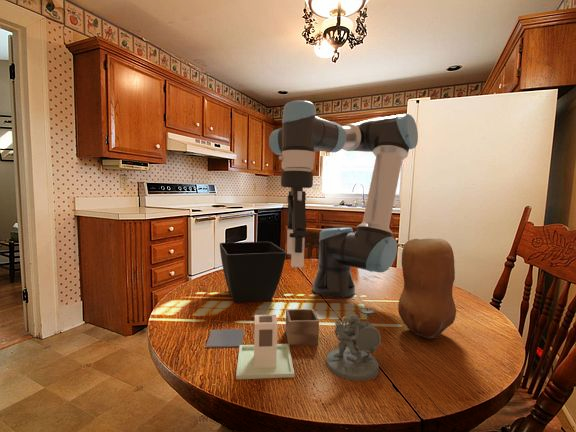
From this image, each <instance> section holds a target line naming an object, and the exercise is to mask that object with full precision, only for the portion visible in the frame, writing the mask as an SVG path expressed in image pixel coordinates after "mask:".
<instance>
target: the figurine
mask: <svg viewBox="0 0 576 432" xmlns="http://www.w3.org/2000/svg"><path fill="white" fill-rule="evenodd" d="M360 314H363V315H366V321H361V319H360V317H359V316H358V315H357V314H356V313H355V314H354V313H353V314H351V315H349V317H348V318H347V316H342V319H341V321H338V320H337V321H335V323H334V325H335V326H336V327H335V329H334V331H333V333H334V334H335V336H336V338H337V340H338V341H339V343H338V345H337V348H335V349H332V350H331V351H329V352H328V353H327V354H326V358H325V363H326V366H327V369H329V371H331V373H333V375H336V376H337V377H340V378H342V379H345V380H347V381H348V380H349V381H355V382H356V381H358V382H362V381H369V380H370V381H372V380H374V379H375V378H377V377H378V374H379V372H380V369H379V367H380V364H379V362H378V360H377V358H375V357H374V355H373V353H374V352H375V351H377V349H378V348H379V347H380V345H381V342H382V336H381V334H380V331H379V330H378V329H377V328H376V327H374V325H372V324H371V322H369V316H373V315H375V310H373V309H370V308H369V307H366V308H363V309H360Z"/></svg>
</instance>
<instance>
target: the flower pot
mask: <svg viewBox="0 0 576 432" xmlns="http://www.w3.org/2000/svg"><path fill="white" fill-rule="evenodd" d="M219 251H220V259H221V264H222V270H223V274H224V278H225V282H226V286H227V289H228V292H229V294H230V296H231V299H232V302H233V303H236V304H238V303H239V304H241V303H248V302H249V303H251V302H260V301H261V302H262V301H270V300H272V299H273V298H274V295H275V293H276V291H277V288H278V285H279V283H280V279H281V277H282V273H283V269H284V264H285V261H286V255H287V251H285V250H284V249H282V248H281V247H279V246H278V245H276V244H274V243H273V242H272V241H243V242H241V241H238V242H220V243H219Z"/></svg>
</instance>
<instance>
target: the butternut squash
mask: <svg viewBox="0 0 576 432" xmlns="http://www.w3.org/2000/svg"><path fill="white" fill-rule="evenodd" d="M455 267H456V266H455V256H454V251H453V248H452V246H451V244H450V243H449V242H448V241H447V240H445V239H443V238H424V239H423V238H422V239H421V238H420V239H419V238H413V239H410V240H408V241H407V242H405V243H404V245H403V247H402V252H401V269H402V276H403V288H402V292H401V294H400V297H399V299H398V306H397V309H398V314H399V317H400V319H401V321H402V322H403V324H404V325H405V326H406V328H407V329H408V330H410V331H411V332H412V333H414V334H416V336H421V337H423V338H426V339H437V338H438V337H439V336H440V335H441V334H443V332H444V331H446V330H447V328H449V327H450V326H451V325H452V324H454V322H455V320H456V315H457V307H456V304H455V301H454V297H453V288H454V287H453V286H454V283H455V279H456V274H455V273H456V272H455V271H456V270H455Z"/></svg>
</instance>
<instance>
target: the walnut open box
mask: <svg viewBox="0 0 576 432" xmlns="http://www.w3.org/2000/svg"><path fill="white" fill-rule="evenodd" d="M284 331H285V336H286V341H287V344H289V347H293V346H295V347H297V346H300V347H301V346H319V336H320V334H319V333H320V332H319V331H320V320H319V318H318V315H317V313H316V311H315V309H314V308H301V309H300V308H295V309H294V308H291V309H290V308H286V309H285V330H284Z"/></svg>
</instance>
